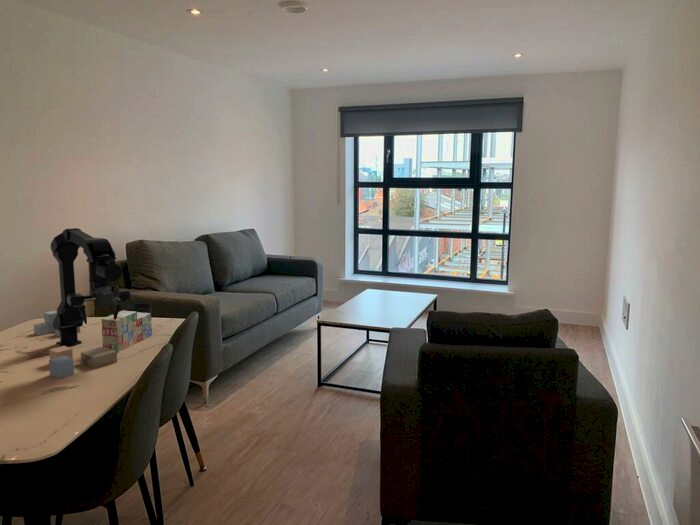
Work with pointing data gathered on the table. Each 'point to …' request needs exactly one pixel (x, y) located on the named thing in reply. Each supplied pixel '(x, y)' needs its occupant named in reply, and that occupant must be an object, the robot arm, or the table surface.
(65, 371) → the slate cube
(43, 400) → the table surface
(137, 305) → the pen holder
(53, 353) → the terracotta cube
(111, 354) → the taupe faceted block
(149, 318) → the stack of blocks
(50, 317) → the pale blue stepped block
